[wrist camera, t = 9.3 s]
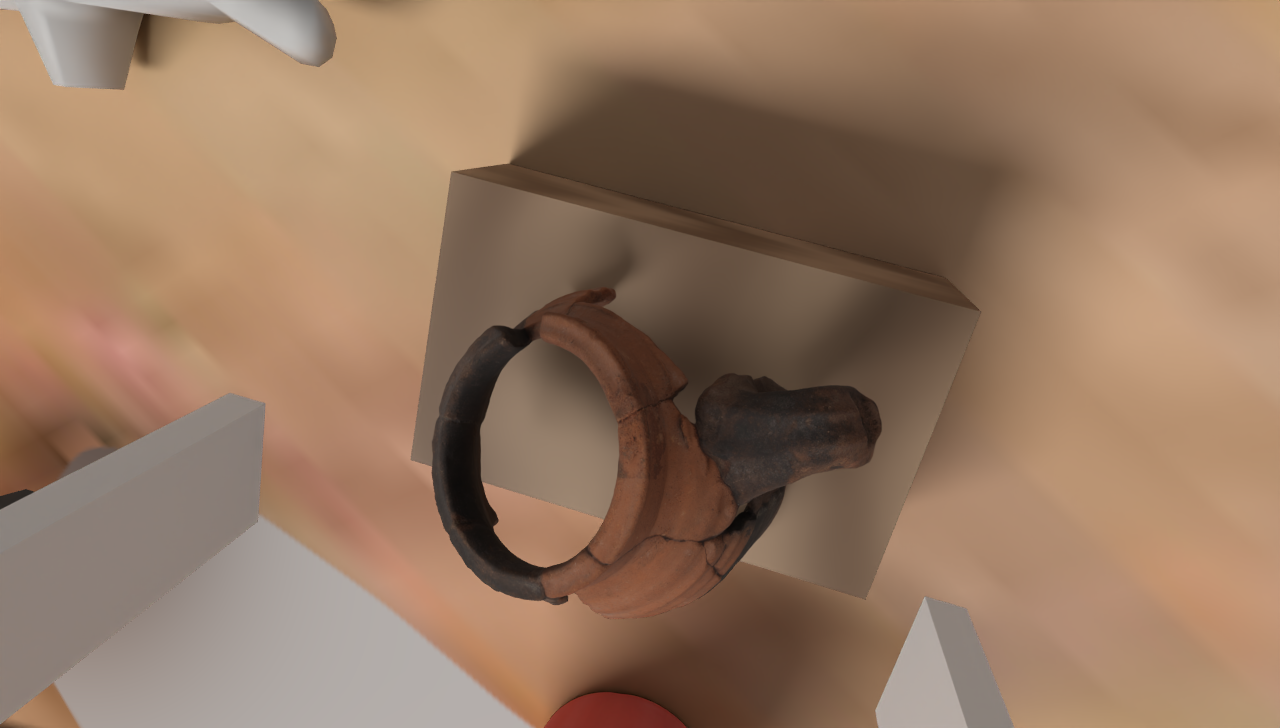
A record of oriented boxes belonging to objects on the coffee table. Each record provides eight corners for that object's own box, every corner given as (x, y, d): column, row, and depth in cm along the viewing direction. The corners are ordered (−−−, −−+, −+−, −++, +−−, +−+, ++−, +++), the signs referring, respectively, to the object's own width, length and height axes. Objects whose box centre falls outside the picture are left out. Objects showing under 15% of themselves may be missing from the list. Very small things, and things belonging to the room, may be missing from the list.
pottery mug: (617, 602, 27) (436, 666, 20) (565, 351, 29) (384, 331, 22) (961, 544, 21) (867, 610, 14) (865, 228, 23) (741, 149, 16)
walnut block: (467, 408, 31) (410, 459, 26) (508, 163, 27) (451, 171, 23) (852, 523, 29) (865, 599, 25) (946, 277, 26) (980, 311, 21)
